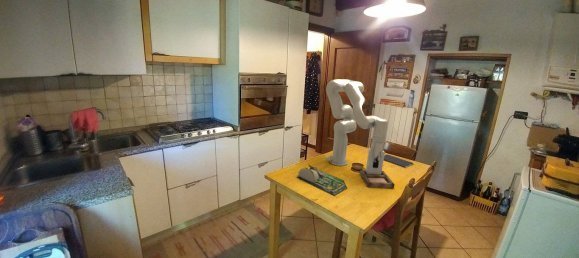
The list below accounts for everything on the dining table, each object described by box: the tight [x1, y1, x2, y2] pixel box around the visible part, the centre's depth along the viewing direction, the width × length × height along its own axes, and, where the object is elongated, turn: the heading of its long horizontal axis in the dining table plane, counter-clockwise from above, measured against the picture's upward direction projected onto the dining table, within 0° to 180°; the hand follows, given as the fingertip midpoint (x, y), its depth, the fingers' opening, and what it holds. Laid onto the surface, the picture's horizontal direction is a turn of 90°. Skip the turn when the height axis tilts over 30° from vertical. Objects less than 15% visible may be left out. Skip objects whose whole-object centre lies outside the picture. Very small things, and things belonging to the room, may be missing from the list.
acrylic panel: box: [365, 149, 386, 175], centre depth 150 cm, size 9×3×15 cm, turn 89°
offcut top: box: [368, 178, 387, 183], centre depth 144 cm, size 10×7×2 cm
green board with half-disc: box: [295, 164, 348, 197], centre depth 146 cm, size 33×8×20 cm
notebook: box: [383, 153, 414, 169], centre depth 182 cm, size 13×2×21 cm
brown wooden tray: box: [359, 169, 396, 189], centre depth 147 cm, size 15×18×4 cm
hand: (374, 166), depth 151 cm, fingers closed on acrylic panel, 3 cm apart
